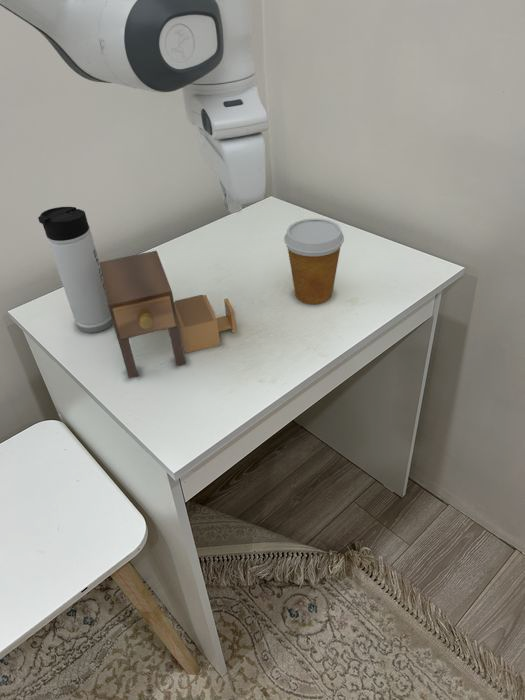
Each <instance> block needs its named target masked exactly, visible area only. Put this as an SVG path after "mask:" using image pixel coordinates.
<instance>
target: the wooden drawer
mask: <svg viewBox="0 0 525 700" xmlns="http://www.w3.org/2000/svg"><path fill="white" fill-rule="evenodd" d="M223 301H224V309H225V311H224V312H225V315H222V316H218V317H217V315H216V314H215V311H214V309H213V306H212V305H211V303H210V301H209V298H208V296H207V294H204V295H203V294H198V295H194V296H189V297H185V298H181V299H177V300H174V305H175V310H176V315H177V321H178V326H179V331H180V336H181V341H182V346H183V351H184V354H188V353H192V352H197V351H200V350H204V349H209V348H212V347H213V348H214V347H217V346H221V339H220V338H221V337H220V332H223V331H228V330H231V332H232V333H237V321H236V313H235V310H234V308H233V306H232V303H231V302H230V300H229V298H228V297H226V298H223Z"/></svg>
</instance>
